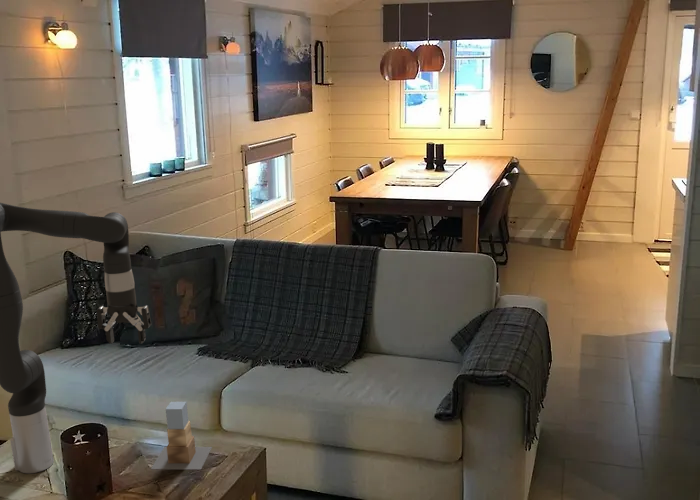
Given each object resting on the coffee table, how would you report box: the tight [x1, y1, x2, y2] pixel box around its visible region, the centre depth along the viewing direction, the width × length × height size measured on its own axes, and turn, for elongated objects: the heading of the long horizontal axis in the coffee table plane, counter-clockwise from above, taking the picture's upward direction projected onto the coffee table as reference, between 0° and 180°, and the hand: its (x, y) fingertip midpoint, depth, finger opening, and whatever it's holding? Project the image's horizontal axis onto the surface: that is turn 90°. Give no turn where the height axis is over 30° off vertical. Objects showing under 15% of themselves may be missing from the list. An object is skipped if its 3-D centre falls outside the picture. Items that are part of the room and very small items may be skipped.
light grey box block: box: [165, 401, 189, 429], centre depth 205 cm, size 4×4×6 cm
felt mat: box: [150, 446, 213, 471], centre depth 208 cm, size 14×12×1 cm
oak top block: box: [167, 420, 193, 446], centre depth 206 cm, size 5×5×5 cm
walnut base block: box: [166, 435, 196, 463], centre depth 208 cm, size 6×6×5 cm
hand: (126, 342), depth 206 cm, fingers open, 8 cm apart
